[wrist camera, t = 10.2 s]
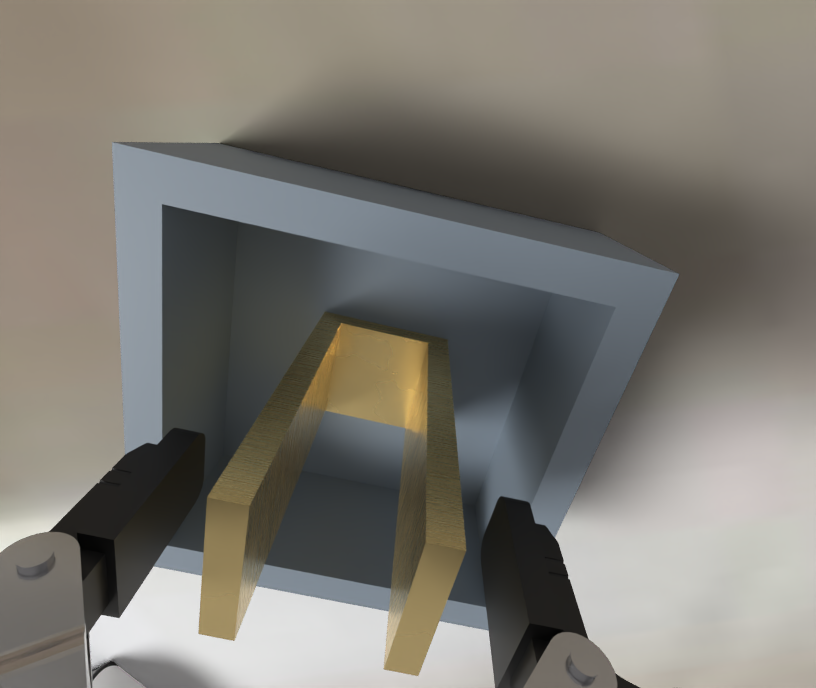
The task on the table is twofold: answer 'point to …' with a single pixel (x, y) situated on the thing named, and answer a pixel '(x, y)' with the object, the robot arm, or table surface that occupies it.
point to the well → (375, 302)
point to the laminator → (113, 677)
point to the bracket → (286, 454)
